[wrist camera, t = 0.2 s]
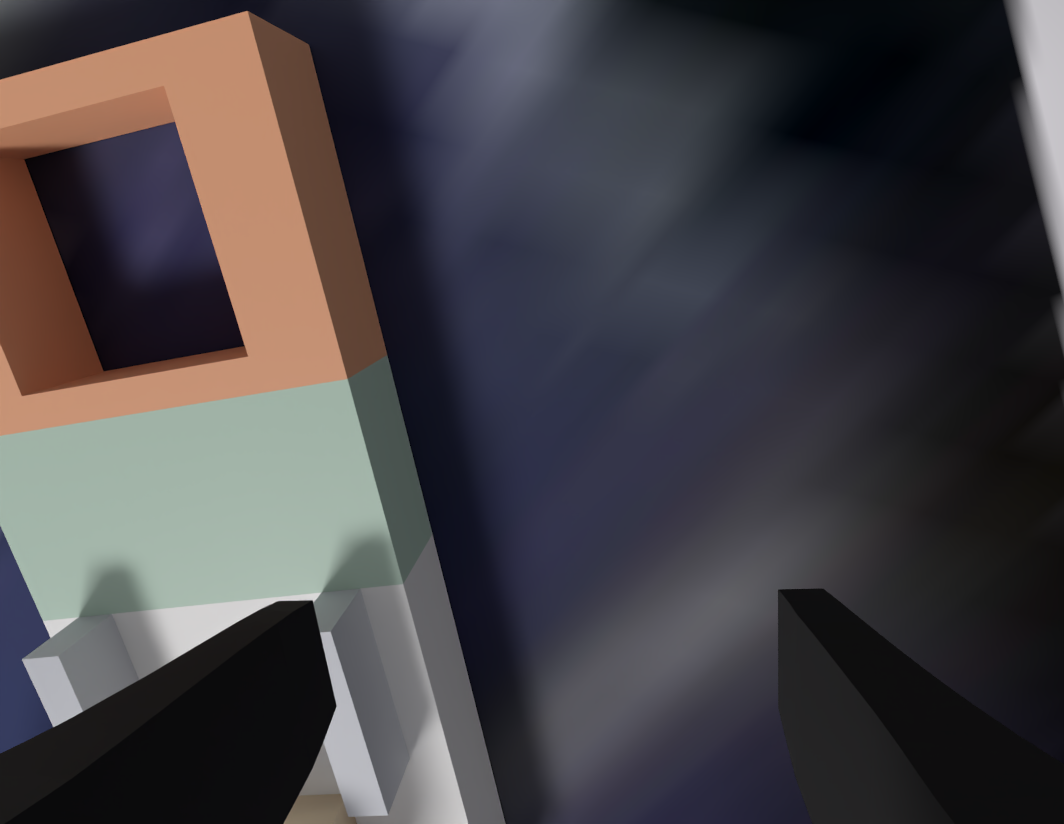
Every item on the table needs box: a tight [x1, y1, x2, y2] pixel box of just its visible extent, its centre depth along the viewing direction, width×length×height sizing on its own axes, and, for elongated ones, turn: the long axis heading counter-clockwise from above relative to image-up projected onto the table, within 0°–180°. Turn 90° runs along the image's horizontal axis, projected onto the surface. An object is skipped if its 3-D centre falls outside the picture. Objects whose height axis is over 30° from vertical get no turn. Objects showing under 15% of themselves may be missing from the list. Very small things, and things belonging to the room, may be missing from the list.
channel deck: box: [0, 11, 505, 824], centre depth 20 cm, size 28×12×5 cm, turn 11°
